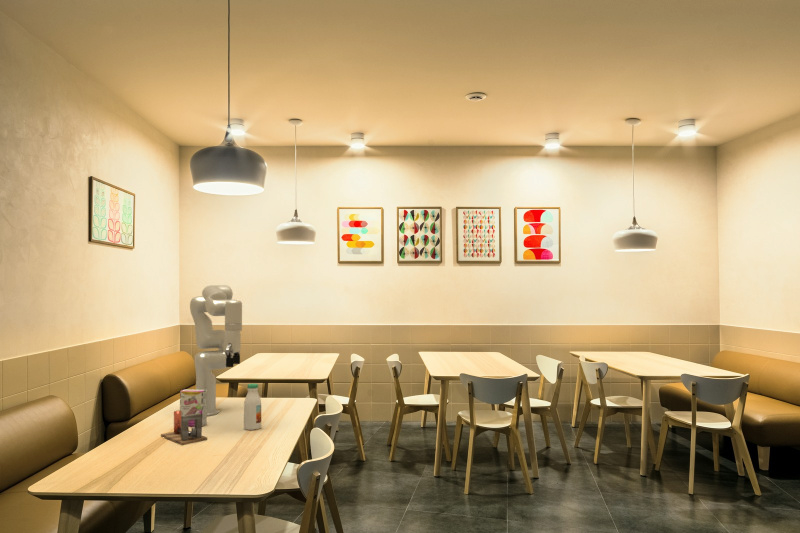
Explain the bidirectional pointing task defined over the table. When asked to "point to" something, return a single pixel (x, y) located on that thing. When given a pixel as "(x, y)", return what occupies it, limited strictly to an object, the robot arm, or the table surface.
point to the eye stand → (183, 436)
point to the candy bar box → (194, 404)
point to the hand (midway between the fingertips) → (233, 365)
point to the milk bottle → (252, 408)
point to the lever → (178, 425)
